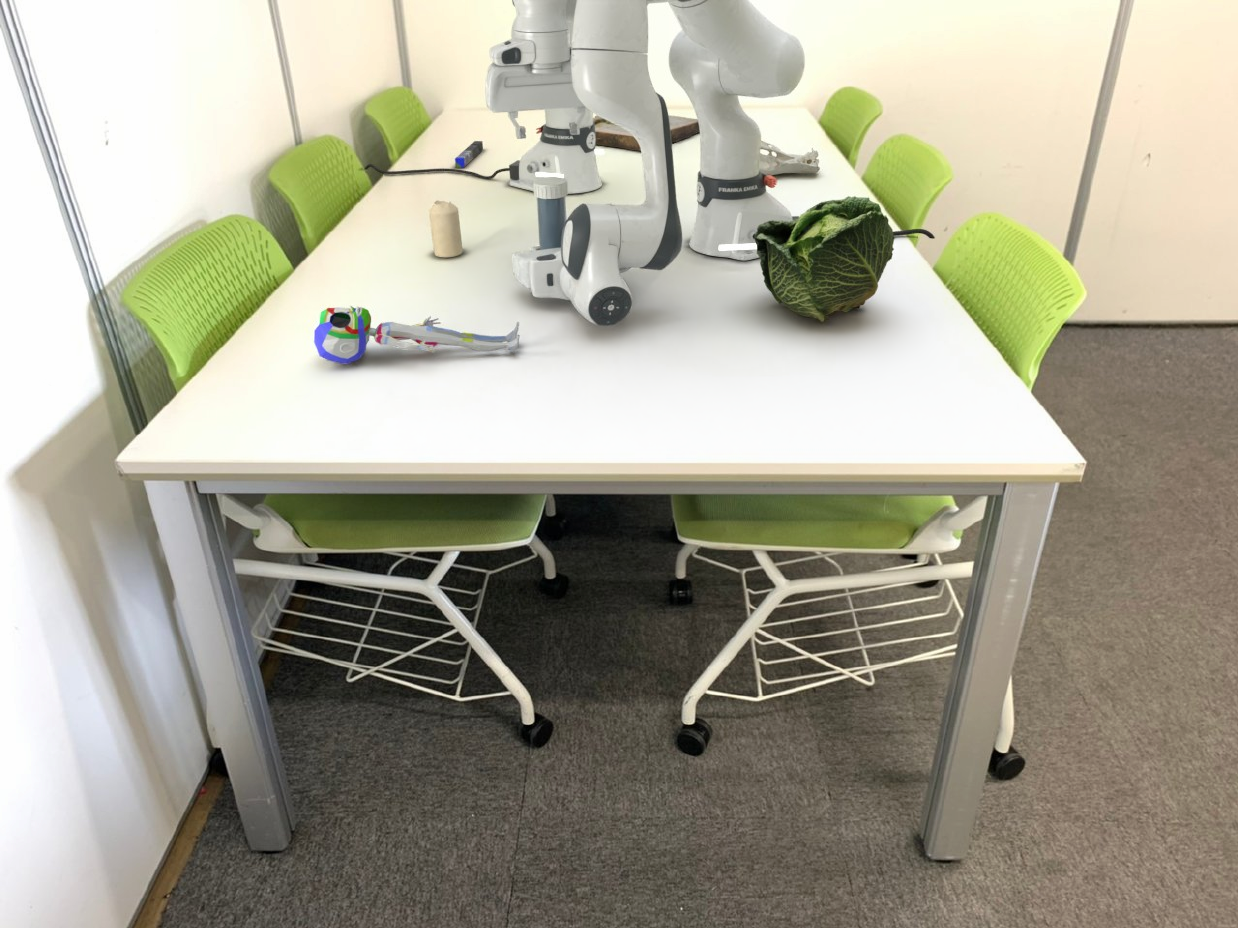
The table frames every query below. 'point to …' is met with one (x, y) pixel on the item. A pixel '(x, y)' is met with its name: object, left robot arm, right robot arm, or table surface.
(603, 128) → the plaque
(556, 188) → the lid
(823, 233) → the vegetable
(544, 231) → the jar
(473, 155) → the pillar
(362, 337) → the toy
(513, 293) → the table surface
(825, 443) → the table surface
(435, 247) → the candle
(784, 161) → the anatomical model
